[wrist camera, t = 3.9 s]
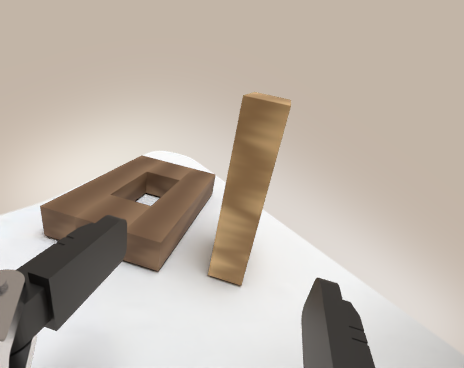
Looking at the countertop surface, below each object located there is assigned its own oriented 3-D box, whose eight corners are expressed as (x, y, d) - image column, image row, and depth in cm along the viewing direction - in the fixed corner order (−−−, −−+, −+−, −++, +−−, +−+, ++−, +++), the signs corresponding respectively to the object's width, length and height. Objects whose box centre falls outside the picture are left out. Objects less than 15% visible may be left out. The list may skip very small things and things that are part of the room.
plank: (250, 246, 26) (290, 99, 20) (241, 285, 21) (290, 105, 15) (223, 238, 27) (254, 92, 21) (207, 274, 22) (243, 95, 16)
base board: (212, 193, 35) (215, 174, 34) (158, 271, 21) (160, 242, 20) (141, 174, 37) (141, 155, 36) (44, 235, 22) (40, 206, 21)
